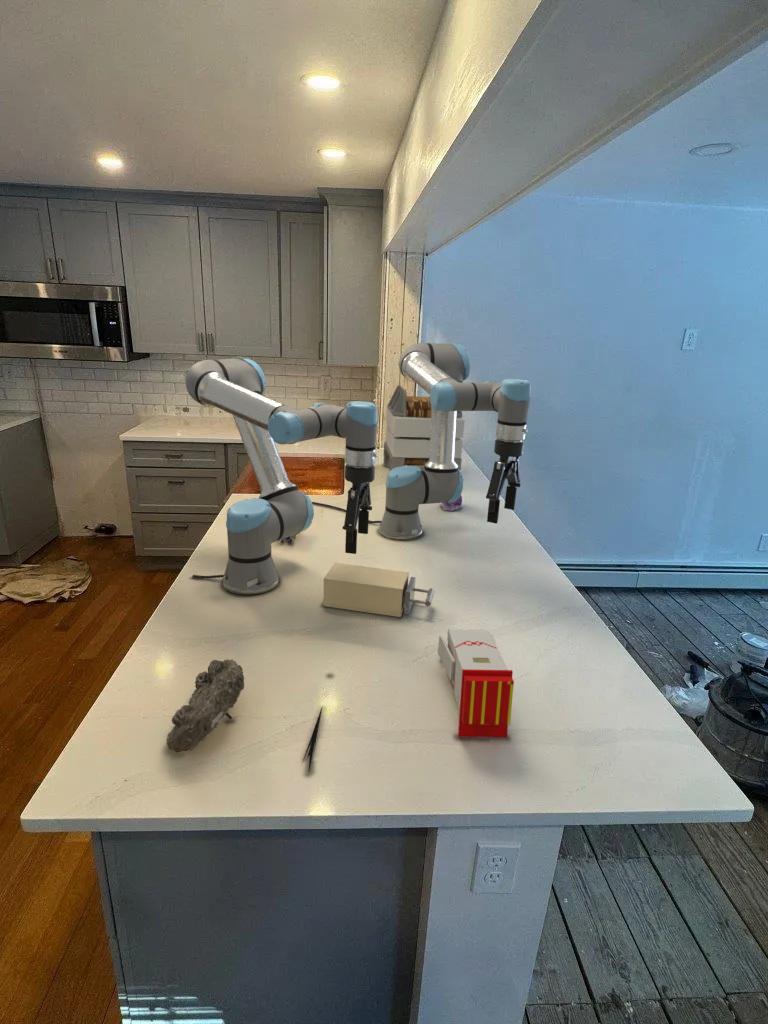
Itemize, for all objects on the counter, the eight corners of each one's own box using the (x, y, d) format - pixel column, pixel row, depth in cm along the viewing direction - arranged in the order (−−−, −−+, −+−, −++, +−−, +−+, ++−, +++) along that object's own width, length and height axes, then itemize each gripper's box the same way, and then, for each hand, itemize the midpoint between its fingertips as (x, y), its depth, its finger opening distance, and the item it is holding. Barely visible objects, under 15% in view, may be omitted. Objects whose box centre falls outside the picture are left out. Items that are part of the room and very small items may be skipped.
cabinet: (407, 598, 155) (408, 572, 153) (400, 617, 146) (402, 589, 143) (334, 588, 159) (334, 562, 156) (323, 606, 150) (323, 578, 147)
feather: (331, 679, 122) (336, 673, 122) (307, 777, 96) (313, 769, 95) (324, 675, 122) (329, 669, 121) (298, 772, 95) (304, 764, 95)
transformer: (382, 463, 289) (386, 382, 275) (445, 464, 293) (451, 384, 279) (390, 482, 257) (394, 392, 243) (460, 483, 261) (468, 394, 247)
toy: (488, 613, 130) (523, 677, 101) (484, 667, 133) (517, 744, 104) (435, 612, 130) (455, 676, 101) (432, 666, 133) (451, 743, 103)
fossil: (192, 660, 117) (244, 628, 112) (224, 691, 120) (276, 661, 115) (142, 746, 98) (202, 712, 93) (182, 779, 101) (242, 748, 96)
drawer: (433, 600, 153) (435, 579, 151) (429, 617, 145) (431, 595, 143) (344, 588, 158) (345, 567, 156) (335, 603, 149) (336, 582, 147)
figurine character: (295, 549, 186) (301, 528, 200) (295, 529, 183) (300, 509, 196) (275, 549, 186) (282, 527, 199) (274, 528, 183) (281, 508, 196)
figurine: (448, 512, 222) (451, 476, 217) (434, 504, 231) (437, 469, 226) (468, 509, 227) (471, 473, 222) (453, 502, 235) (457, 467, 230)
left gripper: (363, 480, 130) (360, 564, 137) (384, 454, 153) (380, 527, 160) (331, 476, 131) (330, 560, 138) (357, 451, 154) (354, 524, 161)
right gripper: (507, 450, 137) (498, 531, 144) (537, 434, 158) (527, 506, 165) (478, 445, 141) (470, 525, 148) (511, 430, 161) (503, 501, 168)
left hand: (357, 542), depth 149 cm, fingers open, 13 cm apart
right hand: (500, 515), depth 156 cm, fingers open, 13 cm apart
